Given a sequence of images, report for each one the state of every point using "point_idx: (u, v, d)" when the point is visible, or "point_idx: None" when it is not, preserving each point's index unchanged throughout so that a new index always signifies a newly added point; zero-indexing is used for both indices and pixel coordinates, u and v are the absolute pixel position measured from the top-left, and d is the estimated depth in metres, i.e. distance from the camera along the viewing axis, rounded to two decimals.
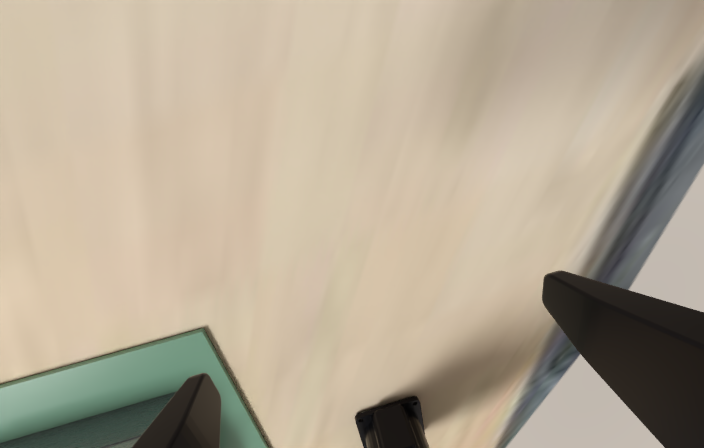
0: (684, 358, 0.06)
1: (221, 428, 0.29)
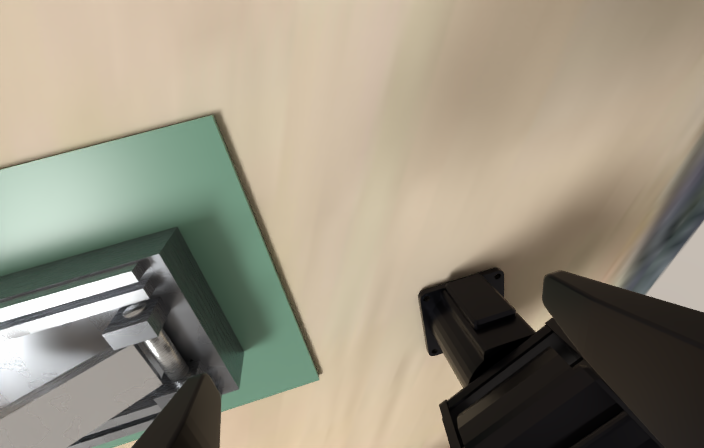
0: (684, 358, 0.06)
1: (241, 298, 0.21)
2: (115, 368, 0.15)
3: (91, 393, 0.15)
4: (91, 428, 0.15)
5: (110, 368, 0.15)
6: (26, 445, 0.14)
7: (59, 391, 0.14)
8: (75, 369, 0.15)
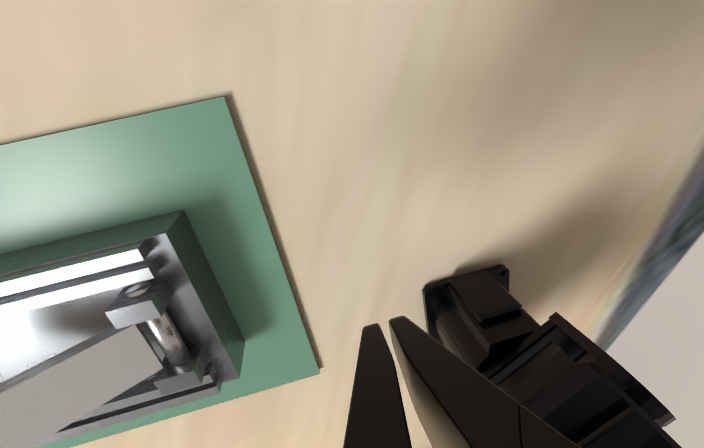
0: (452, 433, 0.05)
1: (244, 285, 0.20)
2: (116, 348, 0.15)
3: (91, 373, 0.15)
4: (90, 409, 0.15)
5: (111, 348, 0.15)
6: (23, 423, 0.13)
7: (59, 369, 0.14)
8: (76, 347, 0.14)
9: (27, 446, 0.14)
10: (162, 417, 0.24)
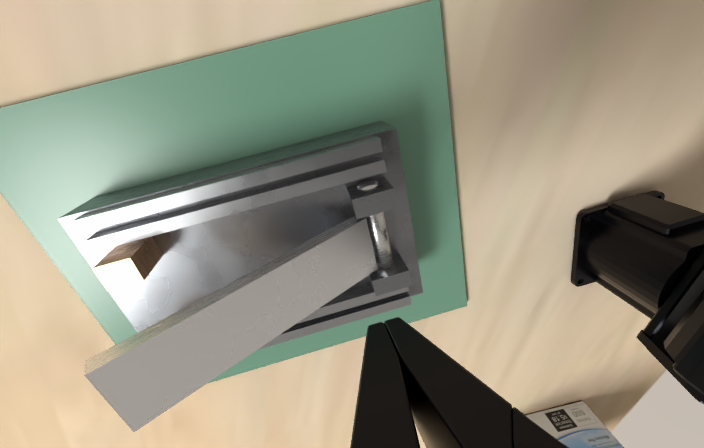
0: (445, 435, 0.05)
1: (418, 205, 0.21)
2: (351, 240, 0.15)
3: (333, 262, 0.15)
4: (328, 299, 0.15)
5: (349, 239, 0.15)
6: (286, 302, 0.14)
7: (315, 252, 0.14)
8: (320, 236, 0.15)
9: (286, 326, 0.14)
10: (318, 347, 0.24)
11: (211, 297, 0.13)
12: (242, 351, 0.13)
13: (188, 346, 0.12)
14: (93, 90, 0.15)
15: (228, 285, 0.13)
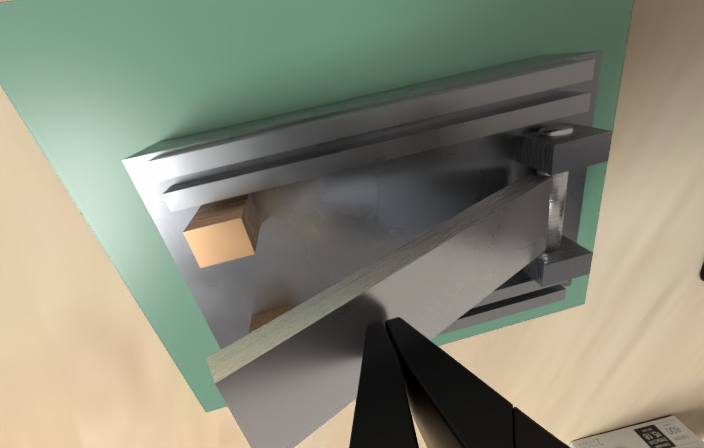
0: (446, 434, 0.05)
1: None
2: (533, 205, 0.11)
3: (511, 234, 0.11)
4: (495, 285, 0.11)
5: (531, 204, 0.11)
6: (457, 285, 0.10)
7: (498, 217, 0.10)
8: (496, 197, 0.11)
9: (450, 321, 0.10)
10: None
11: (373, 270, 0.08)
12: None
13: (346, 342, 0.08)
14: None
15: (391, 255, 0.09)
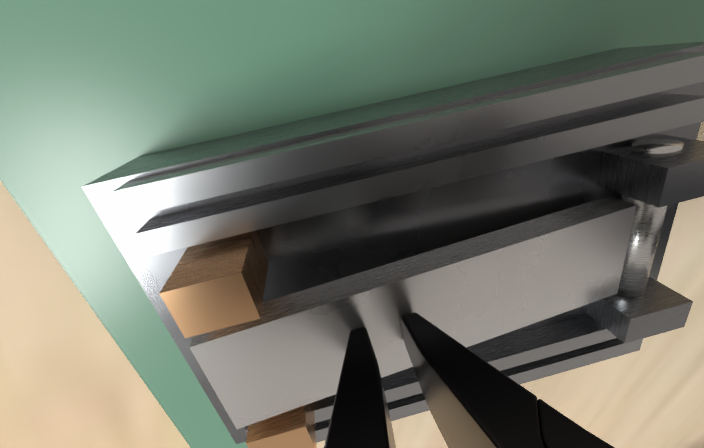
0: (470, 427, 0.05)
1: None
2: (598, 238, 0.09)
3: (557, 268, 0.09)
4: (527, 322, 0.10)
5: (594, 236, 0.09)
6: (468, 312, 0.09)
7: (536, 245, 0.08)
8: (544, 221, 0.09)
9: None
10: None
11: (365, 277, 0.08)
12: (388, 365, 0.09)
13: (322, 341, 0.08)
14: None
15: (391, 265, 0.08)
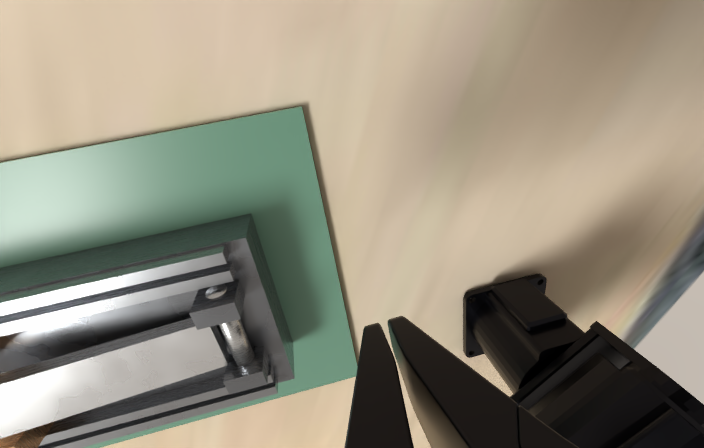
0: (451, 433, 0.05)
1: (299, 288, 0.21)
2: (190, 339, 0.16)
3: (168, 355, 0.16)
4: (164, 383, 0.17)
5: (186, 338, 0.16)
6: (114, 380, 0.16)
7: (144, 346, 0.15)
8: (160, 329, 0.16)
9: (116, 399, 0.16)
10: (205, 415, 0.24)
11: (42, 365, 0.15)
12: (68, 410, 0.16)
13: (13, 400, 0.15)
14: None
15: (61, 357, 0.15)
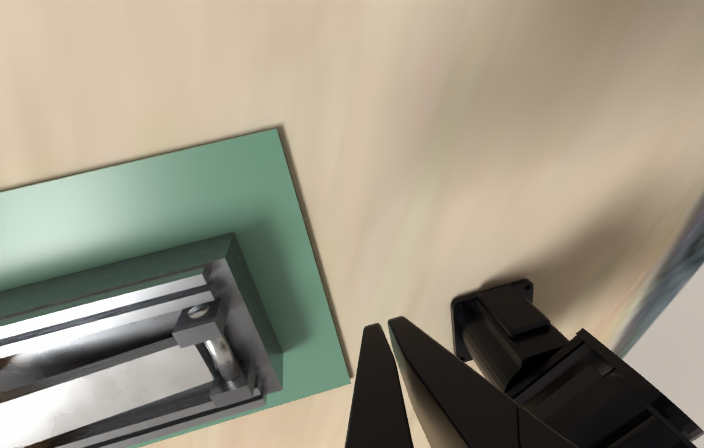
0: (451, 433, 0.05)
1: (285, 301, 0.21)
2: (175, 357, 0.17)
3: (155, 372, 0.17)
4: (153, 399, 0.17)
5: (172, 356, 0.16)
6: (105, 398, 0.16)
7: (131, 364, 0.16)
8: (147, 348, 0.17)
9: (108, 415, 0.17)
10: (201, 425, 0.25)
11: (36, 385, 0.16)
12: (63, 427, 0.16)
13: (10, 419, 0.16)
14: None
15: (54, 376, 0.16)
